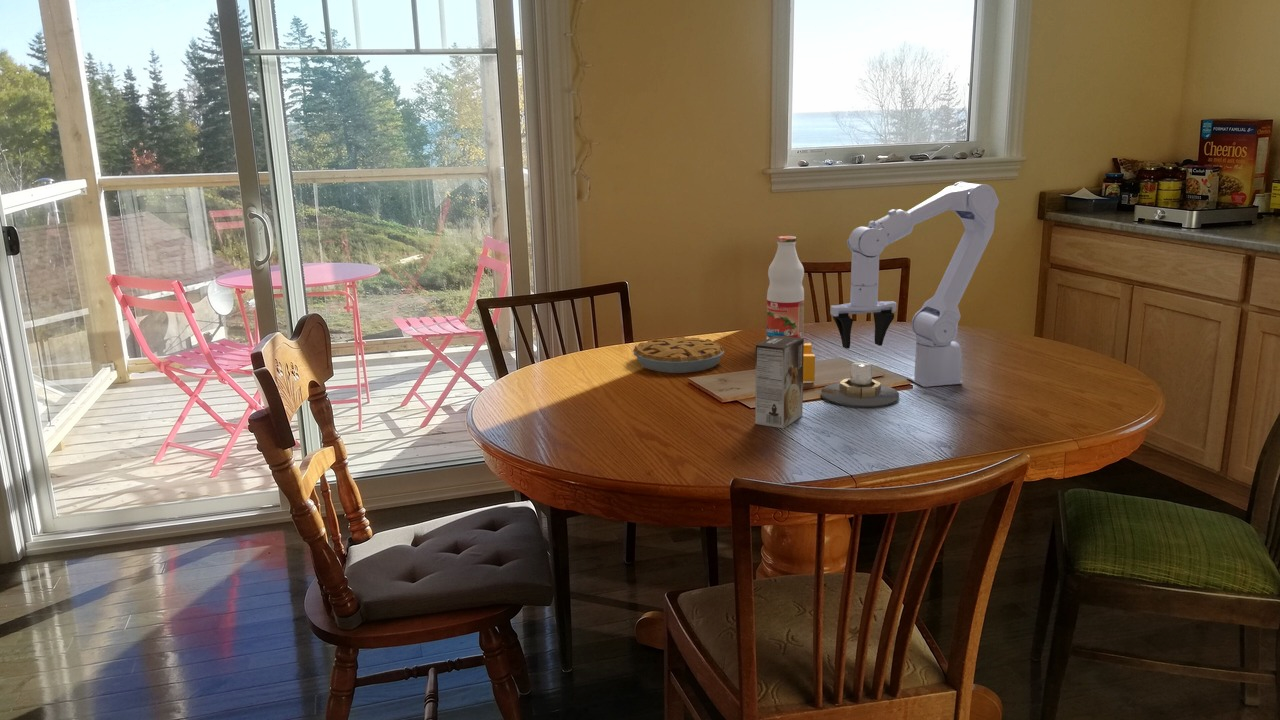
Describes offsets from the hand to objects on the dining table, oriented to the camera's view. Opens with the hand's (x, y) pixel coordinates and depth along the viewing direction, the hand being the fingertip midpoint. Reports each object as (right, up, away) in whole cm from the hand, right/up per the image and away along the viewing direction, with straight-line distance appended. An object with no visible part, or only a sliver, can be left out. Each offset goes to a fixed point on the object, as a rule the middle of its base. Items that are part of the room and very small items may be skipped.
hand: (862, 346), depth 207 cm
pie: (-39, -4, +26) cm, 47 cm away
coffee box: (-21, -15, -18) cm, 32 cm away
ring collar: (-2, -11, -4) cm, 12 cm away
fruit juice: (-11, +1, +41) cm, 43 cm away
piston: (-2, -10, -5) cm, 11 cm away
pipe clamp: (-11, -7, +12) cm, 18 cm away
